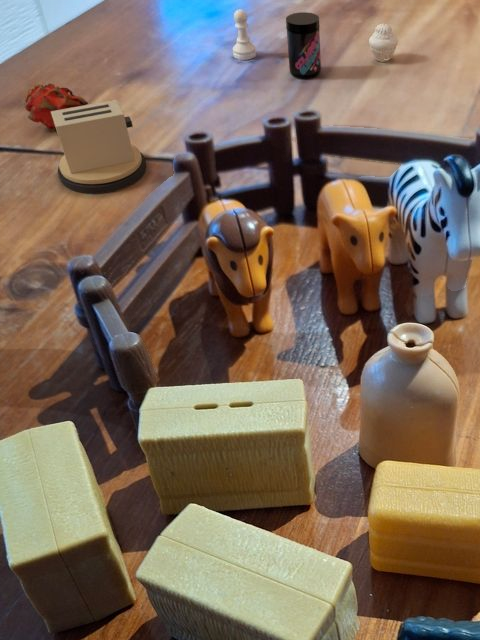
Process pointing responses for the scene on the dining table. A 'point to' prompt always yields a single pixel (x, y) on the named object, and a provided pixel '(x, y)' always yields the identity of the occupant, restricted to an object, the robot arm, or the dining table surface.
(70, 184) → the turntable base
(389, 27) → the muffin
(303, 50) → the supplement container
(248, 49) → the chess pawn
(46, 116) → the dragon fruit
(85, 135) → the toaster
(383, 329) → the dining table surface
